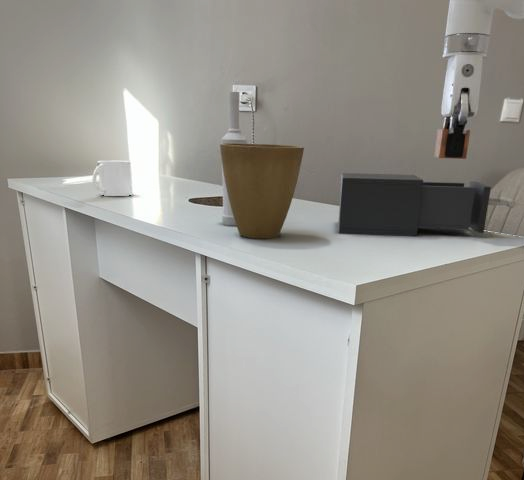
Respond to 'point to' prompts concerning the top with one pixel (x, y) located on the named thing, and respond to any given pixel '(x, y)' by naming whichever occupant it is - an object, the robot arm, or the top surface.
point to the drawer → (457, 206)
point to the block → (442, 144)
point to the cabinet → (380, 204)
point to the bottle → (231, 137)
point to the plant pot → (260, 185)
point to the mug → (113, 178)
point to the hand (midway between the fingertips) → (450, 155)
